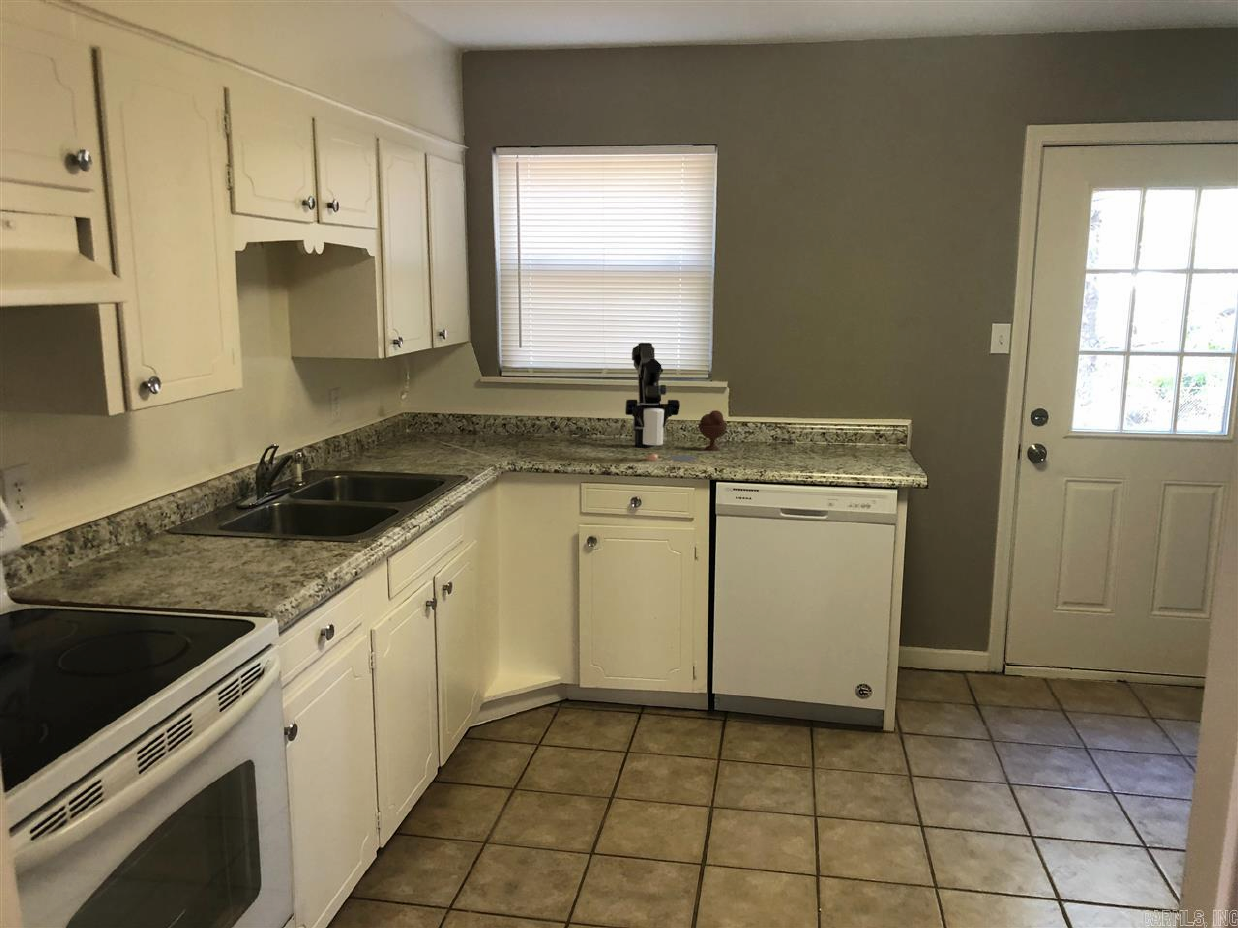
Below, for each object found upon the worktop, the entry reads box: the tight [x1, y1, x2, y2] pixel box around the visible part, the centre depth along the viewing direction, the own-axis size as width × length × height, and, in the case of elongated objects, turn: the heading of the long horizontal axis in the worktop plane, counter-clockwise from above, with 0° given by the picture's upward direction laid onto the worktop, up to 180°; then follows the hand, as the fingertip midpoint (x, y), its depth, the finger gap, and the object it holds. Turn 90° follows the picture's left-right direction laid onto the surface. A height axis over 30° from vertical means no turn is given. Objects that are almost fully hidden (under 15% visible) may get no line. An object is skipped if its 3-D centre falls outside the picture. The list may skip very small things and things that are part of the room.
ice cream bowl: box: [698, 409, 728, 452], centre depth 352 cm, size 11×11×15 cm
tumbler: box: [642, 408, 664, 446], centre depth 325 cm, size 7×7×12 cm
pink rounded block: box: [646, 453, 659, 462], centre depth 328 cm, size 4×4×2 cm
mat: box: [664, 454, 700, 463], centre depth 332 cm, size 9×9×1 cm
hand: (653, 426), depth 324 cm, fingers closed on tumbler, 7 cm apart
